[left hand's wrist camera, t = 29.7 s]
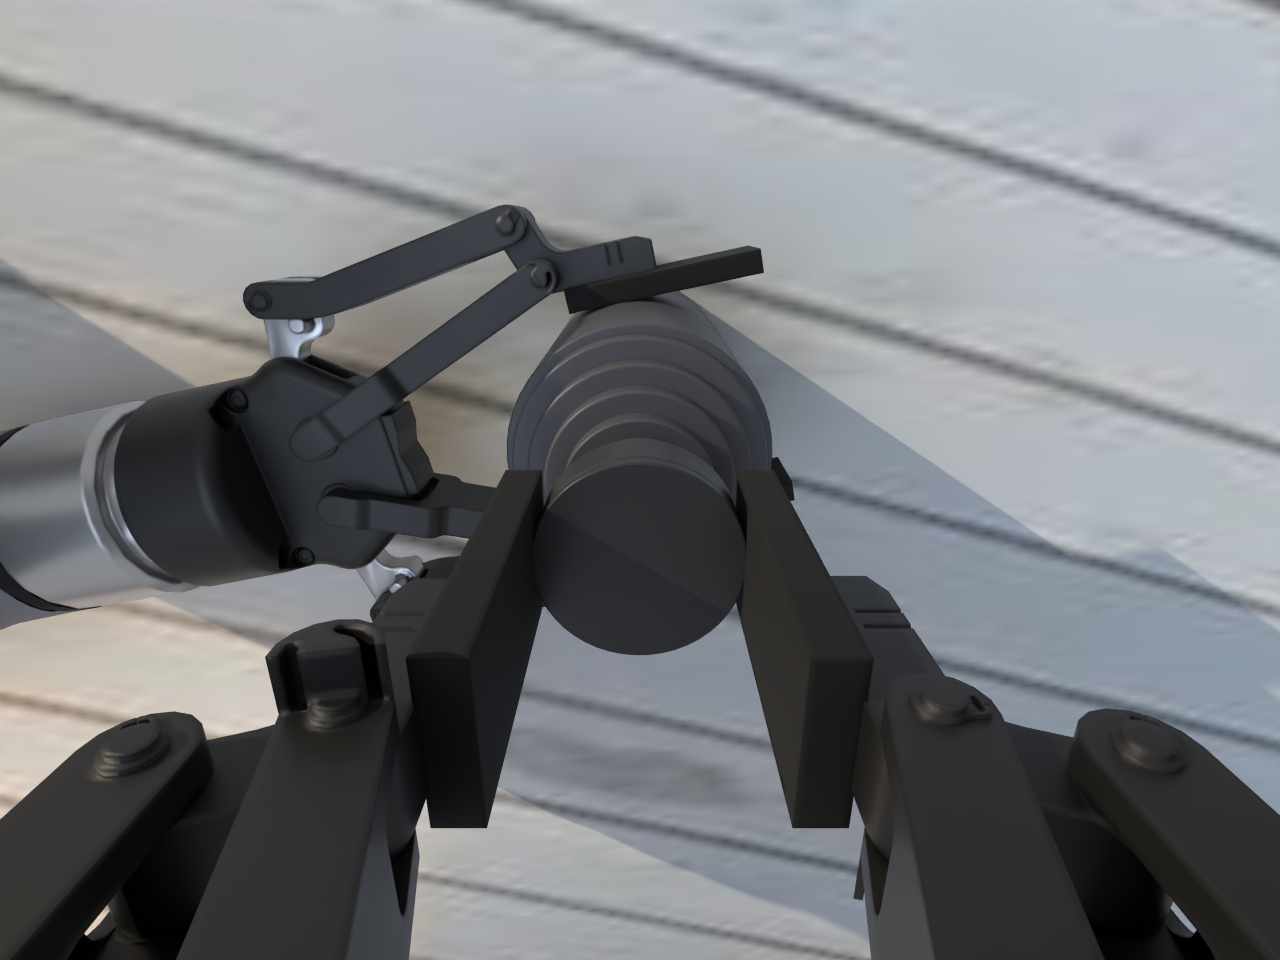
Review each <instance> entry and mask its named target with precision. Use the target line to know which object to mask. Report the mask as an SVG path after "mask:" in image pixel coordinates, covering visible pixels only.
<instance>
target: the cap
mask: <svg viewBox="0 0 1280 960" xmlns="http://www.w3.org/2000/svg"><path fill="white" fill-rule="evenodd" d="M533 551H534V567H535V582H536V588H537V590H538V593H539V595H540V597H541V599H542V601H543V603H544V604H545V606H546V608H547V609H548V611H549V612H550V613H551V614H552V616H553V617H554V618H555V619H556V620H557V621H558V622H559V623H560V624H561V625H562V626H563V627H564V628H565V629H566V630H568V631H569V632H570V633H571V634H573V635H574V636H576V637H577V638H579V639H581V640H582V641H584V642H586V643H588V644H591V645H593V646H595V647H597V648H601V649H604V650H607V651H610V652H615V653H620V654H629V655H651V654H658V653H664V652H668V651H672V650H676V649H678V648H681V647H684V646H686V645H689V644H691V643H693V642H695V641H696V640H698V639H700V638H702V637H703V636H705V635H706V634H707V633H709V632H710V631H711V630H713V629H714V628H715V627H716V626H717V625H718V624H720V622H721V621H722V620H723V619H724V618H725V617H726V616H727V615H728V613H729V612H730V610H731V609H732V607H733V606H734V604H735V603H736V601H737V599H738V597H739V595H740V593H741V590H742V587H743V584H744V576H745V560H746V540H745V536H744V532H743V529H742V526H741V523H740V520H739V517H738V514H737V511H736V508H735V505H734V502H733V499H732V497H731V495H730V492H729V490H728V488H727V487H726V485H725V484H724V482H723V480H722V479H721V478H720V476H719V475H718V474H717V473H716V472H715V470H714V469H713V468H712V467H710V466H709V465H708V464H707V463H706V462H705V461H704V460H702V459H701V458H699V457H698V456H697V455H695V454H694V453H692V452H690V451H688V450H686V449H684V448H682V447H679V446H676V445H674V444H671V443H667V442H663V441H658V440H650V439H628V440H621V441H616V442H612V443H609V444H605V445H602V446H600V447H598V448H595V449H593V450H591V451H589V452H587V453H586V454H584V455H582V456H581V457H579V458H578V459H577V460H576V461H574V462H573V463H572V464H570V465H569V466H568V467H567V468H566V470H565V471H564V472H563V473H562V474H561V475H560V476H559V478H558V479H557V480H556V482H555V483H554V485H553V487H552V489H551V490H550V492H549V494H548V497H547V500H546V502H545V505H544V508H543V511H542V514H541V517H540V520H539V523H538V526H537V529H536V532H535V535H534V539H533Z"/></svg>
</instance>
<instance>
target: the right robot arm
mask: <svg viewBox="0 0 1280 960" xmlns="http://www.w3.org/2000/svg"><path fill="white" fill-rule="evenodd" d="M503 250H505V252H506V253H507V255H508V257H509V258H510V260H511V261H512V263H513V264H514V266H515V267H516V269H517V271H516V272H515V273H513V274H512V275H511V276H509V277H508V278H506V279H505V280H504V281H502V282H501V283H500V284H498V285H497V286H495V287H494V288H493V289H491V290H490V291H489V292H487V293H486V294H484V295H483V296H482V297H480V298H479V299H478V300H476V301H475V302H473V303H472V304H471V305H469V306H468V307H467V308H465V309H464V310H462V311H461V312H460V313H458V314H457V315H456V316H454V317H453V318H452V319H450V320H449V321H447V322H446V323H445V324H443V325H442V326H441V327H439V328H438V329H436V330H435V331H434V332H432V333H431V334H430V335H428V336H427V337H425V338H424V339H423V340H421V341H420V342H419V343H417V344H416V345H414V346H413V347H412V348H410V349H409V350H408V351H406V352H405V353H403V354H402V355H401V356H399V357H398V358H397V359H395V360H394V361H392V362H391V363H390V364H388V365H387V366H385V367H384V368H382V369H381V370H379V371H378V372H376V373H375V374H374V375H372V376H371V377H369V378H367V377H365V376H362V375H360V374H358V373H355V372H353V371H350V370H348V369H346V368H343V367H341V366H338V365H336V364H334V363H331V362H329V361H326V360H324V359H322V358H319V357H317V356H315V355H312V354H310V347H311V344H312V342H313V341H314V340H315V339H316V338H318V337H321V336H324V335H327V334H328V333H330V332H331V330H332V329H333V327H334V314H336V313H340V312H343V311H346V310H349V309H353V308H356V307H359V306H362V305H365V304H368V303H371V302H373V301H376V300H378V299H381V298H383V297H386V296H388V295H391V294H393V293H396V292H399V291H401V290H404V289H406V288H409V287H411V286H414V285H416V284H419V283H421V282H424V281H427V280H429V279H432V278H434V277H437V276H439V275H442V274H444V273H447V272H449V271H452V270H454V269H457V268H460V267H462V266H465V265H467V264H470V263H472V262H475V261H477V260H480V259H482V258H485V257H488V256H490V255H493V254H495V253H498V252H500V251H503ZM760 273H764V270H763V263H762V256H761V249H760V248H755V247H751V246H745V247H740V248H735V249H731V250H726V251H722V252H717V253H712V254H708V255H703V256H698V257H694V258H689V259H685V260H680V261H675V262H671V263H666V264H661V265H657V266H656V262H655V256H654V251H653V246H652V240H651V239H650V238H644V237H639V236H632V237H628V238H623V239H619V240H614V241H610V242H605V243H601V244H596V245H591V246H587V247H582V248H578V249H573V250H566V251H565V250H559V249H557V248H555V247H553V246H552V245H551V244H550V243H549V242H548V241H547V239H546V238H545V236H544V235H543V233H542V232H541V230H540V228H539V227H538V225H537V224H536V222H535V218H534V216H533V215H532V213H531V212H530V211H529V210H527V209H526V208H524V207H520V206H513V205H501V206H497V207H495V208H492V209H490V210H487V211H485V212H482V213H480V214H477V215H475V216H472V217H470V218H467V219H465V220H463V221H460V222H458V223H455V224H453V225H450V226H448V227H445V228H443V229H440V230H438V231H435V232H433V233H430V234H428V235H425V236H423V237H420V238H418V239H415V240H413V241H410V242H408V243H405V244H403V245H400V246H398V247H395V248H393V249H390V250H388V251H385V252H383V253H380V254H378V255H375V256H373V257H371V258H368V259H366V260H363V261H361V262H358V263H356V264H353V265H351V266H348V267H346V268H343V269H341V270H338V271H336V272H333V273H331V274H328V275H326V276H323V277H288V278H282V279H276V280H270V281H263V282H257V283H253V284H250V285H249V286H248V287H246V289H245V291H244V293H243V302H244V304H245V307H246V309H247V310H248V311H249V312H250V313H251V314H252V315H253V316H255V317H257V318H259V319H264V324H265V329H266V334H267V339H268V344H269V349H270V354H271V360H269V361H267V362H266V363H265V364H263V365H262V366H261V367H260V369H259V370H258V371H257V372H256V373H254V374H253V375H252V376H249V377H244V378H240V379H235V380H230V381H226V382H221V383H216V384H211V385H207V386H202V387H197V388H193V389H188V390H183V391H179V392H174V393H169V394H165V395H161V396H157V397H154V398H152V399H150V400H148V401H131V402H127V403H122V404H118V405H113V406H109V407H104V408H99V409H95V410H90V411H86V412H81V413H76V414H72V415H67V416H63V417H58V418H53V419H49V420H44V421H40V422H35V423H32V424H30V425H25V426H21V427H18V428H15V429H11V430H6V431H1V432H0V630H2V629H4V628H6V627H9V626H12V625H14V624H17V623H21V622H26V621H31V620H36V619H40V618H45V617H50V616H55V615H60V614H65V613H70V612H75V611H79V610H85V609H91V608H97V607H101V606H104V605H110V604H116V603H122V602H128V601H134V600H140V599H146V598H151V597H157V596H163V595H169V594H175V593H181V592H185V591H189V590H192V589H195V588H198V587H200V586H213V585H219V584H225V583H230V582H235V581H241V580H246V579H251V578H256V577H262V576H267V575H272V574H278V573H283V572H288V571H292V570H296V569H299V568H303V567H307V566H310V565H314V564H329V565H334V566H338V567H341V568H346V569H356V570H357V571H358V573H359V574H360V576H361V577H362V579H363V580H364V582H365V583H366V585H367V587H368V588H369V590H370V591H371V593H372V594H373V596H374V597H375V599H376V602H375V604H374V605H373V607H372V608H371V610H370V616H371V619H372V621H374V619H375V618H376V616H379V612H380V610H381V609H382V607H383V606H384V604H385V603H386V601H387V600H388V598H389V597H390V595H391V594H392V593H393V592H395V591H396V590H397V589H399V588H400V587H402V586H403V585H405V584H406V583H408V582H409V581H410V580H412V579H413V578H449V576H450V574H451V572H452V570H453V568H454V567H455V565H456V563H457V561H458V559H459V557H460V556H457V557H445V558H439V559H435V560H431V561H428V562H425V563H423V562H422V559H421V558H420V557H419V556H415V555H413V556H411V557H402V558H399V557H394V556H392V555H390V554H389V553H387V551H386V550H385V549H384V548H385V547H386V546H387V545H388V544H389V542H390V541H391V540H392V539H393V538H394V537H395V535H396V534H404V535H410V536H416V537H422V538H436V537H439V536H442V535H450V536H456V537H462V538H468V539H470V537H471V535H472V533H473V531H474V529H475V527H476V525H477V524H478V522H479V520H480V518H481V516H482V514H483V512H484V510H485V509H486V507H487V505H488V503H489V501H490V499H491V497H492V495H493V494H494V492H495V490H496V488H493V487H487V486H481V485H475V484H469V483H464V482H462V481H461V480H460V479H459V478H457V477H455V476H451V475H445V474H439V473H434V472H433V469H432V466H431V463H430V460H429V457H428V456H427V454H426V453H425V451H424V450H423V448H422V447H421V445H420V443H419V442H418V440H417V433H416V419H415V416H414V413H413V410H412V407H411V404H410V401H406V402H404V401H403V400H402V399H404V398H405V397H406V396H408V395H409V394H411V393H412V392H413V391H415V390H416V389H418V388H419V387H420V386H422V385H423V384H425V383H426V382H427V381H429V380H430V379H432V378H433V377H434V376H436V375H437V374H439V373H440V372H441V371H443V370H444V369H446V368H447V367H449V366H450V365H451V364H453V363H454V362H456V361H457V360H458V359H460V358H461V357H463V356H464V355H465V354H467V353H468V352H470V351H471V350H472V349H474V348H475V347H477V346H478V345H479V344H481V343H482V342H484V341H485V340H487V339H488V338H489V337H491V336H492V335H494V334H495V333H496V332H498V331H499V330H501V329H502V328H503V327H505V326H506V325H508V324H509V323H510V322H512V321H513V320H515V319H516V318H517V317H519V316H520V315H522V314H523V313H525V312H526V311H527V310H529V309H530V308H532V307H533V306H534V305H536V304H537V303H539V302H540V301H541V300H543V299H544V298H546V297H547V296H549V295H550V294H552V293H557V292H562V291H564V293H565V297H566V301H567V306H568V310H569V314H572V313H576V312H581V311H586V310H590V309H595V308H600V307H605V306H609V305H614V304H619V303H623V302H628V301H633V300H637V299H642V298H647V297H652V296H656V295H661V294H666V293H670V292H675V291H680V290H684V289H689V288H694V287H699V286H703V285H708V284H713V283H717V282H722V281H727V280H731V279H736V278H741V277H746V276H750V275H755V274H760ZM770 470H774V472H775V474H776V476H777V478H778V479H779V481H780V483H781V485H782V487H783V489H784V491H785V493H786V494H787V496H788V498H789V500H790V501H792V500H794V493H793V486H792V481H791V479H790V477H789V476H788V474H787V472H786V470H785V469H784V467H783V465H782V463H781V462H780V460H779V458H778V457H776V458H772V461H771V469H770ZM542 607H546V606H545V604H544V603H543V606H542Z"/></svg>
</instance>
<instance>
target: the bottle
mask: <svg viewBox="0 0 1280 960" xmlns="http://www.w3.org/2000/svg"><path fill="white" fill-rule="evenodd" d="M628 439H650V440H658V441H663V442H667V443H671V444H674V445H676V446H679V447H682V448H684V449H686V450H688V451H690V452H692V453H694V454H695V455H697V456H698V457H699V458H701V459H702V460H704V461H705V462H706V463H707V464H708V465H709V466H710V467H712V468H713V469H714V470H715V472H716V473H717V474H718V475H719V476H720V478H721V479H722V480H723V482H724V484H725V485H726V487H727V488H728V490H729V492H730V495H731V497H732V499H733V502H734V505H735V508H736V490H737V472H738V470H770V469H771V461H772V436H771V429H770V423H769V419H768V416H767V413H766V409H765V406H764V404H763V402H762V399H761V397H760V395H759V393H758V391H757V389H756V388H755V386H754V384H753V383H752V381H751V380H750V378H749V377H748V375H747V374H746V372H745V371H744V369H743V368H742V367H741V365H740V364H739V362H738V361H737V359H736V358H735V357H734V355H733V354H732V352H731V351H730V349H729V348H728V346H727V345H726V344H725V342H724V341H723V339H722V338H721V336H720V335H719V334H718V332H717V331H716V329H715V328H714V326H713V325H712V323H711V322H710V321H709V319H708V318H707V316H706V315H705V314H704V312H703V311H702V310H701V309H700V308H699V306H698V305H697V304H695V303H694V302H693V301H692V300H691V299H690V298H688V297H687V296H685V295H684V294H682V293H681V292H679V291H675V292H670V293H666V294H661V295H656V296H652V297H647V298H642V299H637V300H633V301H628V302H623V303H619V304H614V305H609V306H605V307H600V308H595V309H590V310H586V311H581V312H576V313H575V314H574V315H573V317H572V318H571V319H570V321H569V322H568V324H567V325H566V327H565V328H564V329H563V331H562V332H561V334H560V335H559V337H558V338H557V339H556V341H555V342H554V344H553V345H552V347H551V348H550V349H549V351H548V352H547V354H546V355H545V357H544V358H543V359H542V361H541V362H540V364H539V365H538V367H537V368H536V369H535V371H534V372H533V374H532V375H531V377H530V378H529V379H528V381H527V383H526V384H525V386H524V388H523V390H522V391H521V393H520V395H519V397H518V399H517V402H516V404H515V407H514V409H513V412H512V416H511V420H510V424H509V429H508V437H507V461H508V468H509V470H542V480H543V498H544V505H545V502H546V500H547V497H548V494H549V492H550V490H551V489H552V487H553V485H554V483H555V482H556V480H557V479H558V478H559V476H560V475H561V474H562V473H563V472H564V471H565V470H566V468H567V467H568V466H569V465H570V464H572V463H573V462H574V461H576V460H577V459H578V458H579V457H581V456H582V455H584V454H586V453H587V452H589V451H591V450H593V449H595V448H598V447H600V446H602V445H605V444H609V443H612V442H616V441H621V440H628Z"/></svg>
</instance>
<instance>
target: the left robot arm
mask: <svg viewBox="0 0 1280 960" xmlns="http://www.w3.org/2000/svg"><path fill="white" fill-rule="evenodd" d="M543 508H544V498H543V480H542V470H506V471H505V473H504V475H503V477H502V479H501V480H500V482H499V484H498V486H497V488H496V490H495V492H494V494H493V495H492V497H491V499H490V501H489V503H488V505H487V507H486V509H485V510H484V512H483V514H482V516H481V518H480V520H479V522H478V524H477V525H476V527H475V529H474V531H473V533H472V535H471V537H470V539H469V540H468V542H467V544H466V546H465V548H464V550H463V552H462V553H461V555H460V557H459V559H458V561H457V563H456V565H455V567H454V568H453V570H452V572H451V574H450V576H449V578H413V579H412V580H410V581H409V582H408V583H406V584H405V585H403V586H402V587H400V588H399V589H397V590H396V591H395V592H393V593H392V594H391V595H390V597H389V598H388V600H387V601H386V603H385V604H384V606H383V607H382V609H381V610H380V612H379V616H376V618H375V619H374V621H373V622H372V623H370V622H366V621H362V620H333V621H328V622H323V623H318V624H314V625H312V626H309V627H307V628H304V629H302V630H299V631H296V632H294V633H292V634H291V635H289V636H288V637H286V638H285V639H283V640H282V641H280V642H278V643H277V644H276V645H275V646H274V647H273V648H272V650H271V651H270V652H269V653H268V654H267V656H266V657H265V658H266V663H267V667H268V671H269V675H270V679H271V684H272V688H273V692H274V696H275V701H276V705H277V709H278V713H279V716H278V718H277V721H276V723H275V725H271V726H268V727H264V728H261V729H257V730H253V731H248V732H244V733H239V734H235V735H230V736H225V737H221V738H216V739H211V740H207V739H206V736H205V733H204V729H203V726H202V723H201V722H200V721H198V720H197V719H196V718H195V717H194V716H193V715H190V714H185V713H179V712H165V713H155V714H149V715H146V716H141V717H139V718H134V719H131V720H128V721H125V722H123V723H121V724H119V725H117V726H115V727H113V728H111V729H109V730H107V731H105V732H103V733H101V734H99V735H97V736H96V737H94V738H93V739H92V740H90V741H89V742H88V743H86V744H85V745H83V746H82V747H81V748H79V749H78V750H77V751H75V752H74V753H73V754H72V755H71V756H70V757H69V758H68V759H67V760H66V761H64V762H63V763H62V764H61V765H60V766H59V767H58V768H57V769H56V770H54V771H53V772H52V773H51V774H50V775H49V776H48V777H47V778H46V779H45V780H43V781H42V782H41V783H40V784H39V785H38V786H37V787H36V788H35V789H33V790H32V791H31V792H30V793H29V794H28V795H27V796H26V797H25V798H24V799H22V800H21V801H20V802H19V803H18V804H17V805H16V806H15V807H14V808H12V809H11V810H10V811H9V812H8V813H7V814H6V815H5V816H4V817H3V818H1V819H0V960H409V952H410V942H411V933H412V923H413V914H414V904H415V895H416V885H417V876H418V866H419V857H420V856H419V849H418V842H417V836H416V829H415V827H416V825H417V822H418V819H419V816H420V814H421V811H422V808H423V806H424V803H425V800H427V807H428V813H429V820H430V827H431V828H487V826H488V822H489V818H490V814H491V810H492V806H493V802H494V798H495V794H496V790H497V786H498V782H499V778H500V774H501V770H502V766H503V762H504V758H505V754H506V750H507V746H508V742H509V738H510V734H511V730H512V726H513V722H514V718H515V714H516V710H517V706H518V702H519V698H520V694H521V690H522V686H523V682H524V678H525V674H526V670H527V666H528V662H529V658H530V654H531V650H532V646H533V642H534V638H535V634H536V630H537V626H538V622H539V618H540V614H541V610H542V606H543V601H542V599H541V597H540V595H539V593H538V590H537V588H536V582H535V567H534V551H533V539H534V535H535V532H536V529H537V526H538V523H539V520H540V517H541V514H542V511H543ZM736 511H737V514H738V517H739V520H740V523H741V526H742V529H743V532H744V536H745V540H746V560H745V576H744V584H743V587H742V590H741V593H740V595H739V597H738V599H737V601H736V604H737V608H738V612H739V616H740V620H741V624H742V628H743V632H744V636H745V640H746V644H747V648H748V652H749V656H750V660H751V664H752V668H753V672H754V676H755V680H756V684H757V688H758V692H759V696H760V700H761V704H762V708H763V712H764V716H765V720H766V724H767V728H768V732H769V736H770V740H771V744H772V748H773V752H774V756H775V760H776V764H777V768H778V772H779V776H780V779H781V783H782V787H783V791H784V795H785V799H786V803H787V807H788V811H789V815H790V819H791V823H792V827H793V828H849V824H850V817H851V810H852V804H853V797H854V798H855V801H856V804H857V806H858V809H859V812H860V814H861V817H862V820H863V822H864V825H865V829H864V836H863V842H862V848H861V854H860V861H859V867H858V873H857V879H856V886H855V893H854V899H859V900H863V895H864V893H865V903H866V912H867V922H868V931H869V941H870V950H871V959H872V960H1280V815H1279V814H1278V813H1277V812H1275V811H1274V810H1273V809H1272V808H1271V807H1270V806H1269V805H1268V804H1267V803H1265V802H1264V801H1263V800H1262V799H1261V798H1260V797H1259V796H1258V795H1257V794H1255V793H1254V792H1253V791H1252V790H1251V789H1250V788H1249V787H1248V786H1247V785H1245V784H1244V783H1243V782H1242V781H1241V780H1240V779H1239V778H1238V777H1237V776H1235V775H1234V774H1233V773H1232V772H1231V771H1230V770H1229V769H1228V768H1226V767H1225V766H1224V765H1223V764H1222V763H1221V762H1220V761H1219V760H1218V759H1216V758H1215V757H1214V756H1213V755H1212V754H1211V753H1210V752H1209V751H1208V750H1206V749H1205V748H1204V747H1203V746H1202V745H1200V744H1199V743H1197V742H1196V741H1195V740H1193V739H1192V738H1190V737H1189V736H1188V735H1186V734H1185V733H1184V732H1182V731H1180V730H1178V729H1176V728H1174V727H1172V726H1170V725H1168V724H1166V723H1164V722H1162V721H1160V720H1158V719H1156V718H1153V717H1150V716H1147V715H1142V714H1140V713H1135V712H1132V711H1126V710H1116V709H1101V710H1095V711H1090V712H1088V713H1086V714H1085V715H1084V716H1083V717H1082V718H1081V719H1079V720H1078V724H1077V727H1076V731H1075V734H1074V737H1068V736H1064V735H1059V734H1054V733H1050V732H1045V731H1040V730H1036V729H1031V728H1026V727H1022V726H1019V725H1015V724H1012V723H1008V722H1005V721H1004V719H1003V717H1002V715H1001V713H1000V712H999V710H998V709H997V707H996V706H995V705H994V703H993V702H992V700H991V699H989V698H988V697H987V696H985V695H984V694H983V693H981V692H980V691H979V690H977V689H976V688H975V687H972V686H970V685H968V684H966V683H964V682H961V681H959V680H957V679H955V678H951V677H947V676H945V675H944V674H943V672H942V671H941V669H940V668H939V666H938V665H937V663H936V662H935V660H934V659H933V657H932V656H931V654H930V653H929V651H928V650H927V648H926V647H925V645H924V644H923V642H922V641H921V639H920V638H919V636H918V635H917V633H916V632H915V630H914V629H913V628H911V624H910V623H909V621H908V620H907V618H906V617H905V615H904V614H903V613H901V609H900V608H899V606H898V605H897V603H896V602H895V600H894V599H893V598H892V596H891V595H890V593H889V592H888V591H887V590H886V589H884V588H883V587H881V586H880V585H878V584H877V583H875V582H874V581H873V580H871V579H870V578H868V577H867V576H830V575H829V573H828V571H827V569H826V567H825V566H824V564H823V562H822V560H821V558H820V556H819V554H818V552H817V551H816V549H815V547H814V545H813V543H812V541H811V539H810V538H809V536H808V534H807V532H806V530H805V528H804V526H803V524H802V523H801V521H800V519H799V517H798V515H797V513H796V511H795V509H794V508H793V506H792V504H791V502H790V500H789V498H788V496H787V494H786V493H785V491H784V489H783V487H782V485H781V483H780V481H779V479H778V478H777V476H776V474H775V472H774V470H738V472H737V490H736ZM1173 901H1174V903H1175V904H1176V905H1177V906H1178V907H1179V909H1180V910H1181V911H1182V912H1183V914H1184V915H1185V916H1186V917H1187V919H1188V920H1189V921H1190V922H1191V923H1192V925H1193V926H1194V927H1195V928H1196V932H1195V933H1193V932H1191V931H1190V930H1189V929H1188V928H1187V927H1186V926H1185V925H1184V924H1183V923H1182V922H1181V921H1180V919H1179V918H1178V917H1177V916H1176V914H1175V913H1174V912H1173V911H1172V910H1171V906H1172V903H1173ZM107 905H108V907H109V910H110V912H109V913H108V914H107V915H106V917H105V918H104V919H103V920H102V922H101V923H100V924H99V925H98V926H97V927H96V928H95V929H94V930H93V931H92V932H91V933H89V934H88V935H87V936H86V935H85V934H84V933H85V932H86V930H87V929H88V928H89V927H90V925H91V924H92V923H93V922H94V920H95V919H96V918H97V917H98V915H99V914H100V913H101V912H102V911H103V909H104V908H105V907H106V906H107Z"/></svg>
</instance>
